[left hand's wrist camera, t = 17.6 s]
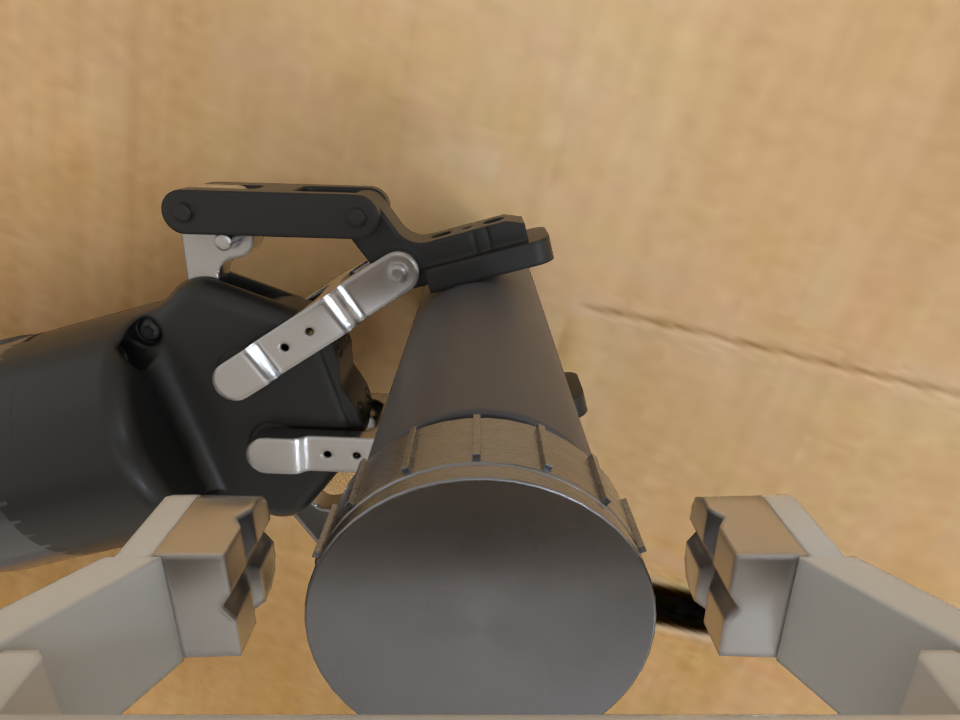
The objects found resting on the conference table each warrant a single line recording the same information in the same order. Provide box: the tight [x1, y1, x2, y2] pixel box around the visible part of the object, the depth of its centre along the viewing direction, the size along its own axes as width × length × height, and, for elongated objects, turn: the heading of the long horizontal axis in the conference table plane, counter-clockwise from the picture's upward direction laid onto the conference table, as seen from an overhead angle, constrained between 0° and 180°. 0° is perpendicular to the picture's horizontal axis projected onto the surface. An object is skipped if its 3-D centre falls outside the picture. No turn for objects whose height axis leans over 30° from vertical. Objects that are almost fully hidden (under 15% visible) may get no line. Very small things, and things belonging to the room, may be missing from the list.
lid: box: [305, 414, 656, 715], centre depth 9 cm, size 5×5×2 cm
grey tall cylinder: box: [367, 268, 591, 460], centre depth 17 cm, size 4×4×18 cm
